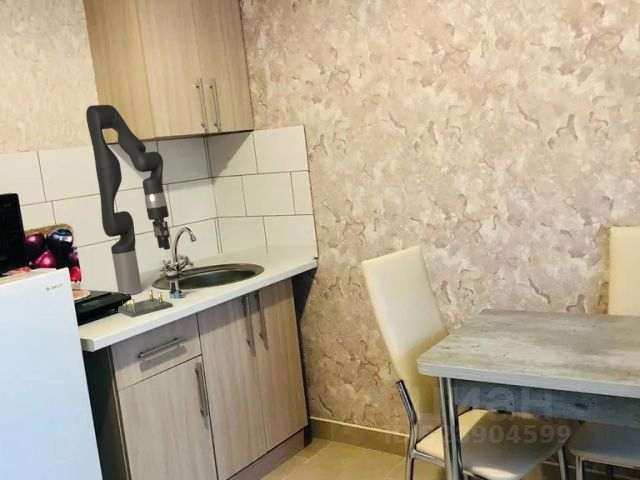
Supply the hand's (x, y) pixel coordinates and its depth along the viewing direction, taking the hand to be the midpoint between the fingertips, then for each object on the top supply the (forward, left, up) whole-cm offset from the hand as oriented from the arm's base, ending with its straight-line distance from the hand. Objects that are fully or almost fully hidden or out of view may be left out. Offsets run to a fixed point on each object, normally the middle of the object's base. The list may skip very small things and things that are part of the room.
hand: (164, 248), depth 243 cm
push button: (+2, +1, -19) cm, 19 cm away
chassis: (+6, -14, -19) cm, 24 cm away
